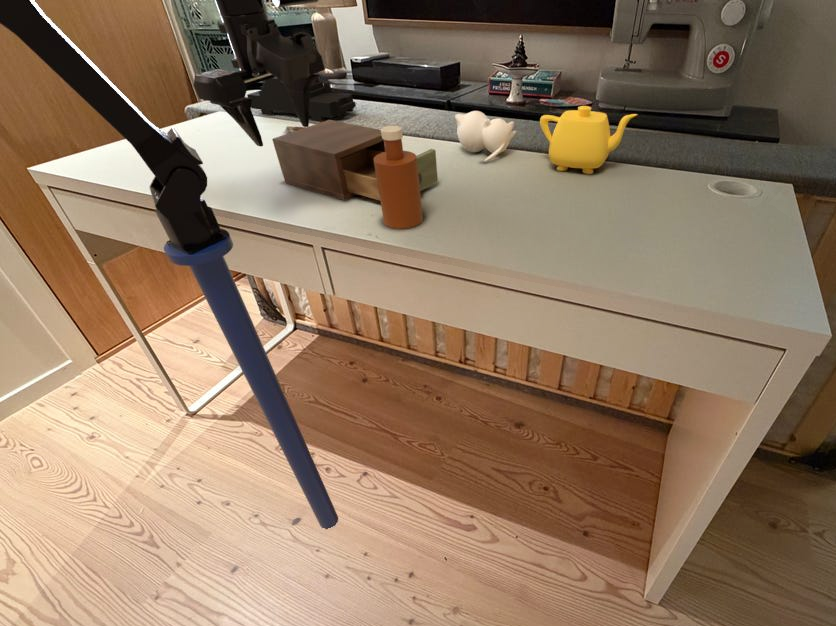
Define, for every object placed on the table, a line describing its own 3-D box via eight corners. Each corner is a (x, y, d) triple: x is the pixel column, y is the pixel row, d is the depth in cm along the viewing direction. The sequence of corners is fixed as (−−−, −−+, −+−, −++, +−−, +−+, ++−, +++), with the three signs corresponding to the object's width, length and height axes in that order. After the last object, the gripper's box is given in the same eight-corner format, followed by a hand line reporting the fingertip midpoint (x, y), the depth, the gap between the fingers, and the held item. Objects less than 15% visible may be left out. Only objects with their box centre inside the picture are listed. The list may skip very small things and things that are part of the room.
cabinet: (396, 175, 90) (390, 131, 85) (344, 200, 82) (334, 154, 76) (338, 160, 97) (329, 119, 91) (285, 182, 88) (271, 138, 83)
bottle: (399, 233, 72) (385, 138, 63) (376, 220, 76) (360, 128, 66) (430, 219, 75) (422, 128, 66) (407, 208, 79) (395, 119, 69)
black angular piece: (280, 103, 133) (269, 62, 126) (364, 112, 124) (357, 69, 118) (249, 113, 125) (236, 71, 118) (337, 124, 116) (327, 79, 109)
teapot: (629, 161, 94) (640, 103, 87) (623, 181, 86) (635, 119, 79) (543, 152, 99) (547, 96, 91) (530, 170, 91) (534, 111, 84)
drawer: (443, 183, 85) (441, 151, 81) (394, 211, 76) (389, 176, 72) (373, 165, 92) (368, 135, 88) (321, 189, 83) (312, 157, 80)
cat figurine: (513, 105, 91) (460, 97, 95) (494, 149, 89) (440, 139, 93) (520, 138, 100) (470, 129, 103) (502, 178, 98) (452, 168, 101)
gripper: (220, 29, 52) (271, 166, 63) (336, 2, 63) (362, 124, 74) (164, 24, 57) (220, 153, 68) (281, 0, 68) (313, 115, 79)
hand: (283, 135), depth 72 cm, fingers open, 9 cm apart
